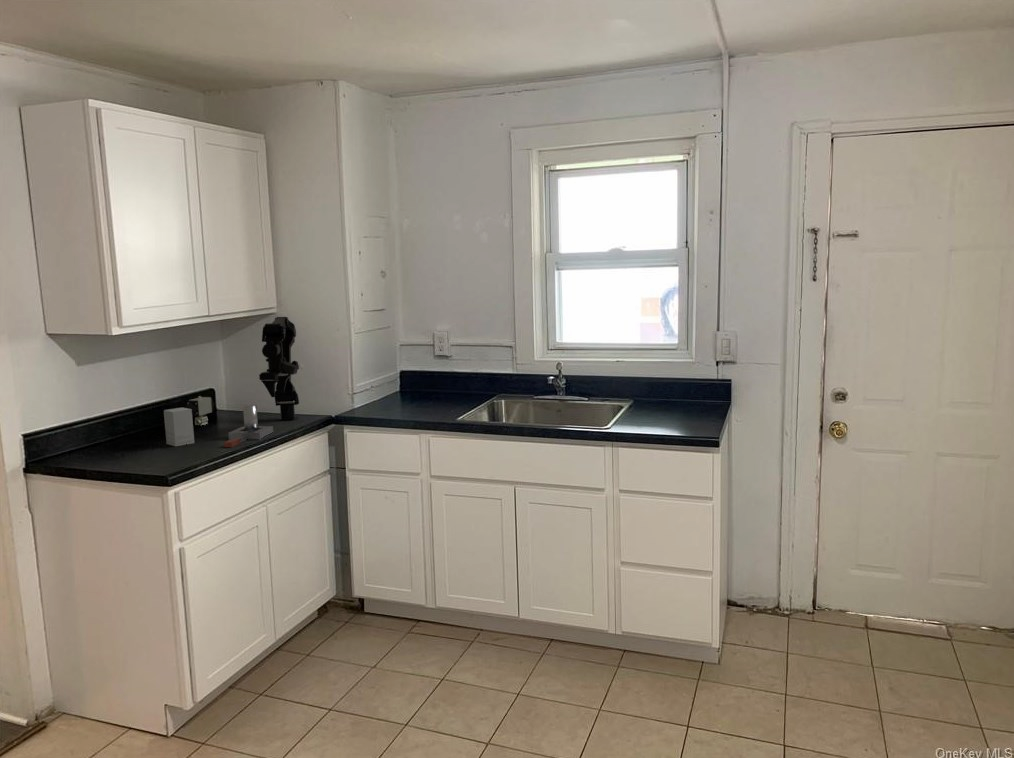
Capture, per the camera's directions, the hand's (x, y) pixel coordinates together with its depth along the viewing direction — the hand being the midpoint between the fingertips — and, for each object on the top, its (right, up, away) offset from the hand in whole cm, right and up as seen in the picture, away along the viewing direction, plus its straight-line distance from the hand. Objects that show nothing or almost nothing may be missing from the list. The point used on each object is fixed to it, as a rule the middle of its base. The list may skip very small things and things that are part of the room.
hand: (277, 395), depth 307 cm
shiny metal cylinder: (-6, -15, -12) cm, 20 cm away
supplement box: (-29, -17, -23) cm, 40 cm away
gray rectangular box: (-7, -16, -19) cm, 26 cm away
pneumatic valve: (-35, -13, +12) cm, 39 cm away
